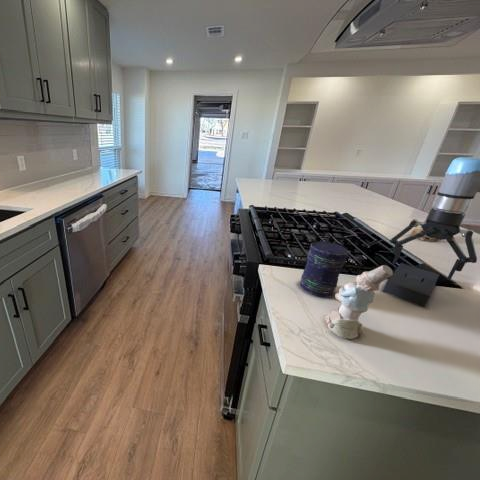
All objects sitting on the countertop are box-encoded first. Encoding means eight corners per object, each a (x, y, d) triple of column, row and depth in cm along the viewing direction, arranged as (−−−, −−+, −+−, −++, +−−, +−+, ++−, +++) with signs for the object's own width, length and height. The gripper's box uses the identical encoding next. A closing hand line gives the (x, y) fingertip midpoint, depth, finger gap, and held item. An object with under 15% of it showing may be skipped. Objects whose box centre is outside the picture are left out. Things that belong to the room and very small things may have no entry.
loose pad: (434, 284, 87) (439, 274, 85) (429, 296, 80) (434, 285, 79) (396, 272, 94) (401, 262, 92) (389, 282, 88) (393, 272, 86)
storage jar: (299, 277, 89) (310, 238, 83) (331, 285, 85) (345, 244, 79) (299, 292, 81) (311, 250, 75) (335, 301, 77) (351, 257, 71)
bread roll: (408, 243, 128) (415, 232, 123) (408, 230, 134) (416, 219, 128) (435, 248, 123) (444, 237, 118) (434, 234, 129) (443, 223, 123)
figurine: (369, 343, 62) (402, 272, 54) (332, 338, 63) (359, 268, 55) (351, 319, 70) (377, 254, 62) (318, 314, 71) (340, 250, 63)
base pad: (430, 292, 82) (436, 282, 81) (424, 307, 75) (430, 296, 74) (391, 279, 89) (395, 269, 88) (382, 291, 82) (387, 281, 81)
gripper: (513, 217, 71) (476, 282, 79) (398, 200, 89) (377, 254, 97) (514, 223, 67) (475, 290, 75) (393, 203, 85) (372, 260, 93)
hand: (420, 270), depth 86 cm, fingers open, 13 cm apart
